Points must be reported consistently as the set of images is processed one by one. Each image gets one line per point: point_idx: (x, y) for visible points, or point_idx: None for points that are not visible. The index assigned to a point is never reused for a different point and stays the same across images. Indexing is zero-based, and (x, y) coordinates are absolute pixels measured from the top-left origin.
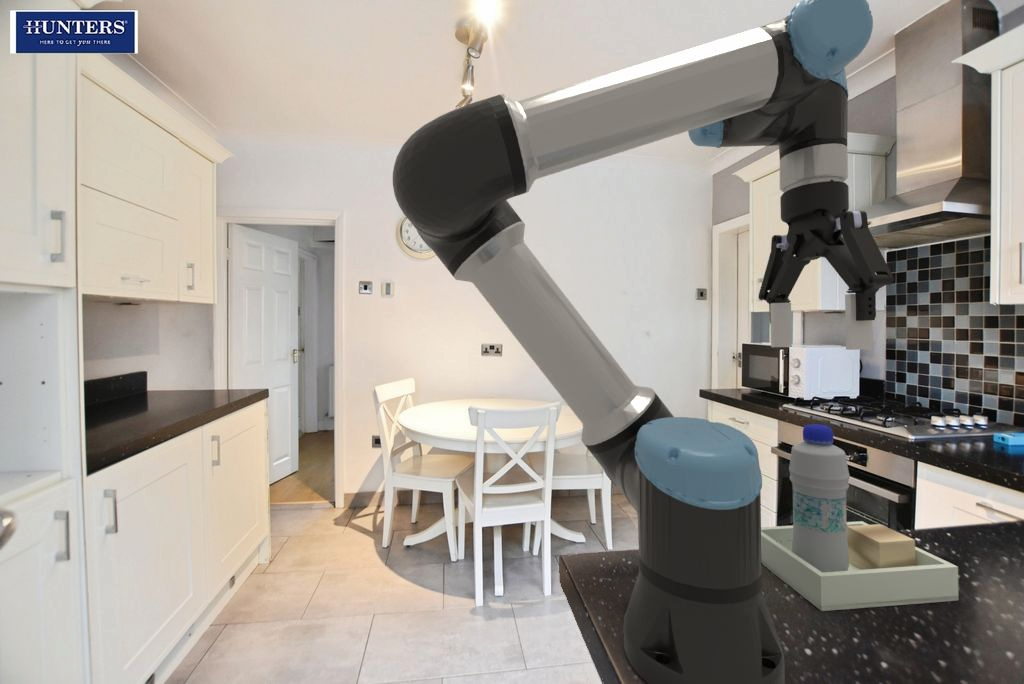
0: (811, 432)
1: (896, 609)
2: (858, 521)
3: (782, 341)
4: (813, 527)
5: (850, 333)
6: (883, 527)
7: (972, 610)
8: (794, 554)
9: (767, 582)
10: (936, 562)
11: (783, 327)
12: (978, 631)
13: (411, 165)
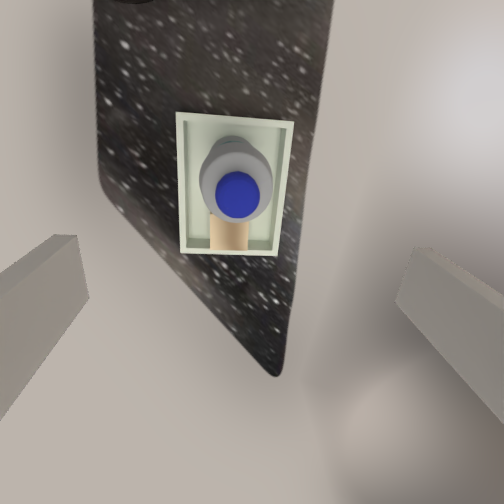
0: (228, 176)
1: (177, 182)
2: (277, 252)
3: (415, 284)
4: (217, 146)
5: (22, 258)
6: (240, 247)
7: (171, 237)
8: (223, 122)
9: (234, 96)
10: (194, 247)
11: (450, 322)
12: (146, 215)
13: None
